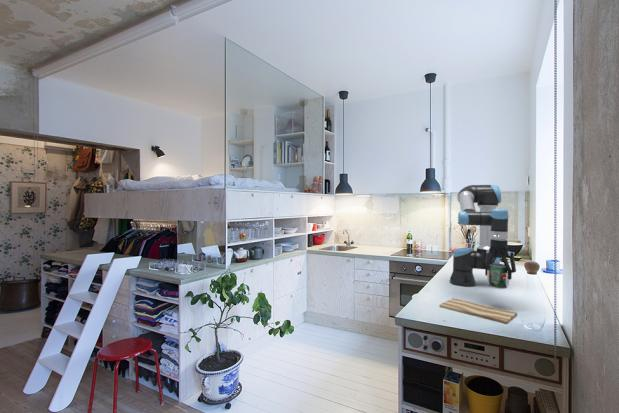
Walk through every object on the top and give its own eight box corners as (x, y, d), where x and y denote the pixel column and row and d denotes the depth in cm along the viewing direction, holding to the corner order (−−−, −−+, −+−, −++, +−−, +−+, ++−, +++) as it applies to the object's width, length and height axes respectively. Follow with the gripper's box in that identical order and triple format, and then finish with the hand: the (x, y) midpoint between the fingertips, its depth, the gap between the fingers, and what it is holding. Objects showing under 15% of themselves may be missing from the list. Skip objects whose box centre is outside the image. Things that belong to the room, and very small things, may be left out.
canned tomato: (508, 289, 157) (509, 267, 156) (490, 287, 159) (491, 266, 159) (504, 285, 164) (505, 263, 164) (487, 283, 167) (488, 262, 166)
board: (452, 300, 172) (452, 298, 172) (516, 315, 150) (517, 312, 150) (439, 306, 161) (439, 304, 161) (506, 323, 139) (506, 321, 139)
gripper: (474, 238, 166) (473, 281, 167) (520, 242, 151) (519, 289, 152) (479, 236, 171) (478, 278, 172) (524, 240, 156) (523, 286, 157)
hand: (497, 283), depth 162 cm, fingers closed on canned tomato, 8 cm apart
